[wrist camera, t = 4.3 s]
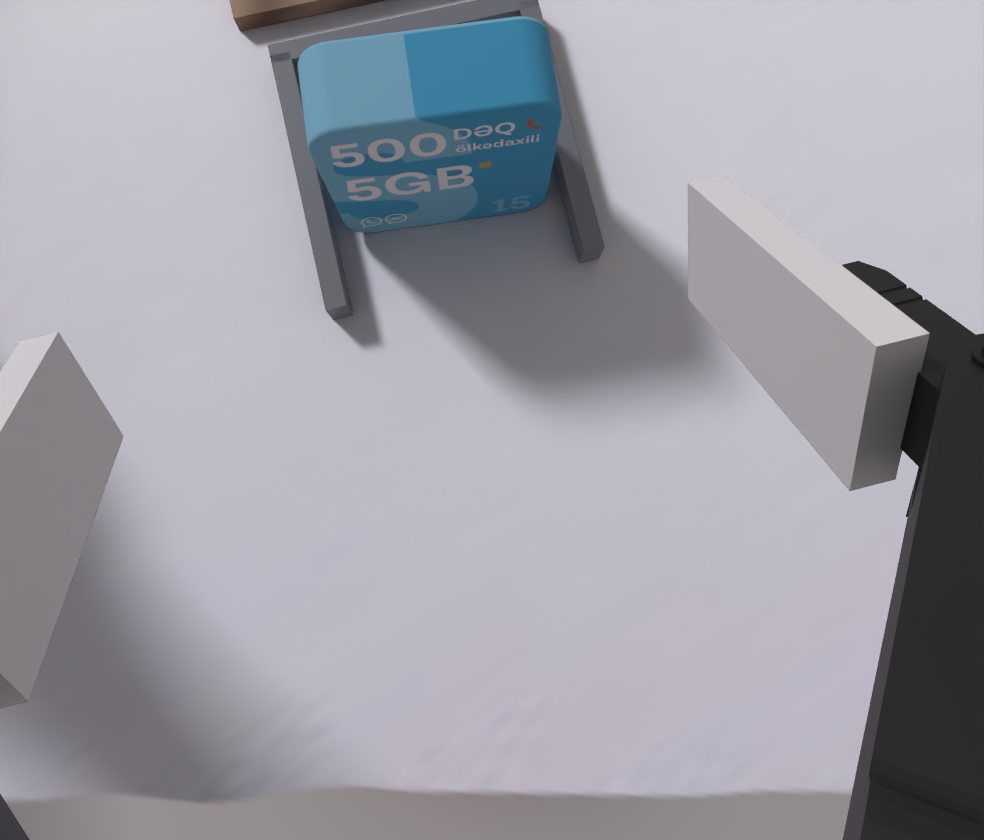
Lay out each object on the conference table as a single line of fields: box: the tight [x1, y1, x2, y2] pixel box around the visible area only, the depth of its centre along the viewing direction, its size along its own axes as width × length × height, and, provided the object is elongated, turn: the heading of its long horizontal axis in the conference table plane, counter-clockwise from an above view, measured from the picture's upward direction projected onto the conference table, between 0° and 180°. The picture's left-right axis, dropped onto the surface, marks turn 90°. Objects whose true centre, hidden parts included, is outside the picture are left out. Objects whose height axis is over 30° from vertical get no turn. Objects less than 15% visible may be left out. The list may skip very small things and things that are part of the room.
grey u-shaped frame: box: [268, 0, 604, 319], centre depth 44 cm, size 16×17×2 cm
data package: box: [298, 16, 562, 233], centre depth 39 cm, size 12×4×12 cm, turn 98°
